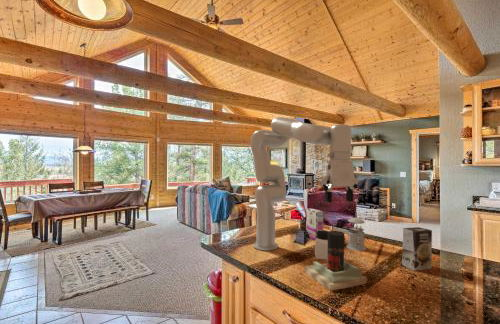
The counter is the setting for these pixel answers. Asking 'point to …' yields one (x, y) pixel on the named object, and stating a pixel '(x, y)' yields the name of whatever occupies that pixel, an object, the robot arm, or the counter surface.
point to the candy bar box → (314, 222)
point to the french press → (356, 234)
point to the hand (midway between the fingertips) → (339, 201)
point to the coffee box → (417, 248)
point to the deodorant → (335, 251)
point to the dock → (336, 276)
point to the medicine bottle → (321, 244)
